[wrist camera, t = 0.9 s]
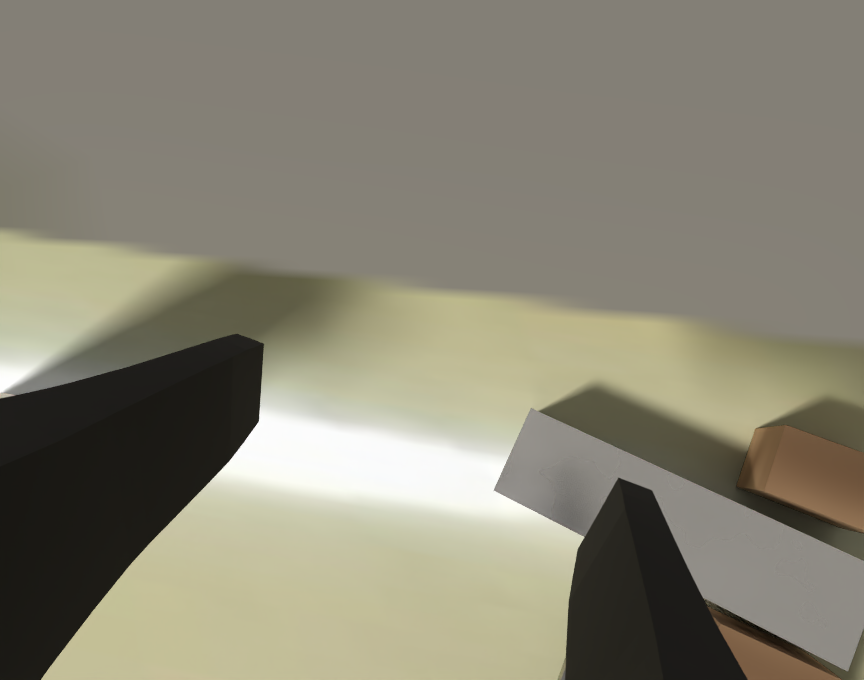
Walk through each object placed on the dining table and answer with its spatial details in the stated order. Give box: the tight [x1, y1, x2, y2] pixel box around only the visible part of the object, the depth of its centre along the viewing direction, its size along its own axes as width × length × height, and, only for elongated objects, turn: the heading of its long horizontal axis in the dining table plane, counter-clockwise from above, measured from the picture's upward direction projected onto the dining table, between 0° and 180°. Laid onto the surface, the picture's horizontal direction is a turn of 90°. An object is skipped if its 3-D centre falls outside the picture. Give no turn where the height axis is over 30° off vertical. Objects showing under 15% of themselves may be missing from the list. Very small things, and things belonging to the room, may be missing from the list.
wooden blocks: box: [707, 425, 864, 680], centre depth 20 cm, size 10×4×3 cm, turn 157°
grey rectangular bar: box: [494, 408, 864, 672], centre depth 22 cm, size 4×13×4 cm, turn 64°
